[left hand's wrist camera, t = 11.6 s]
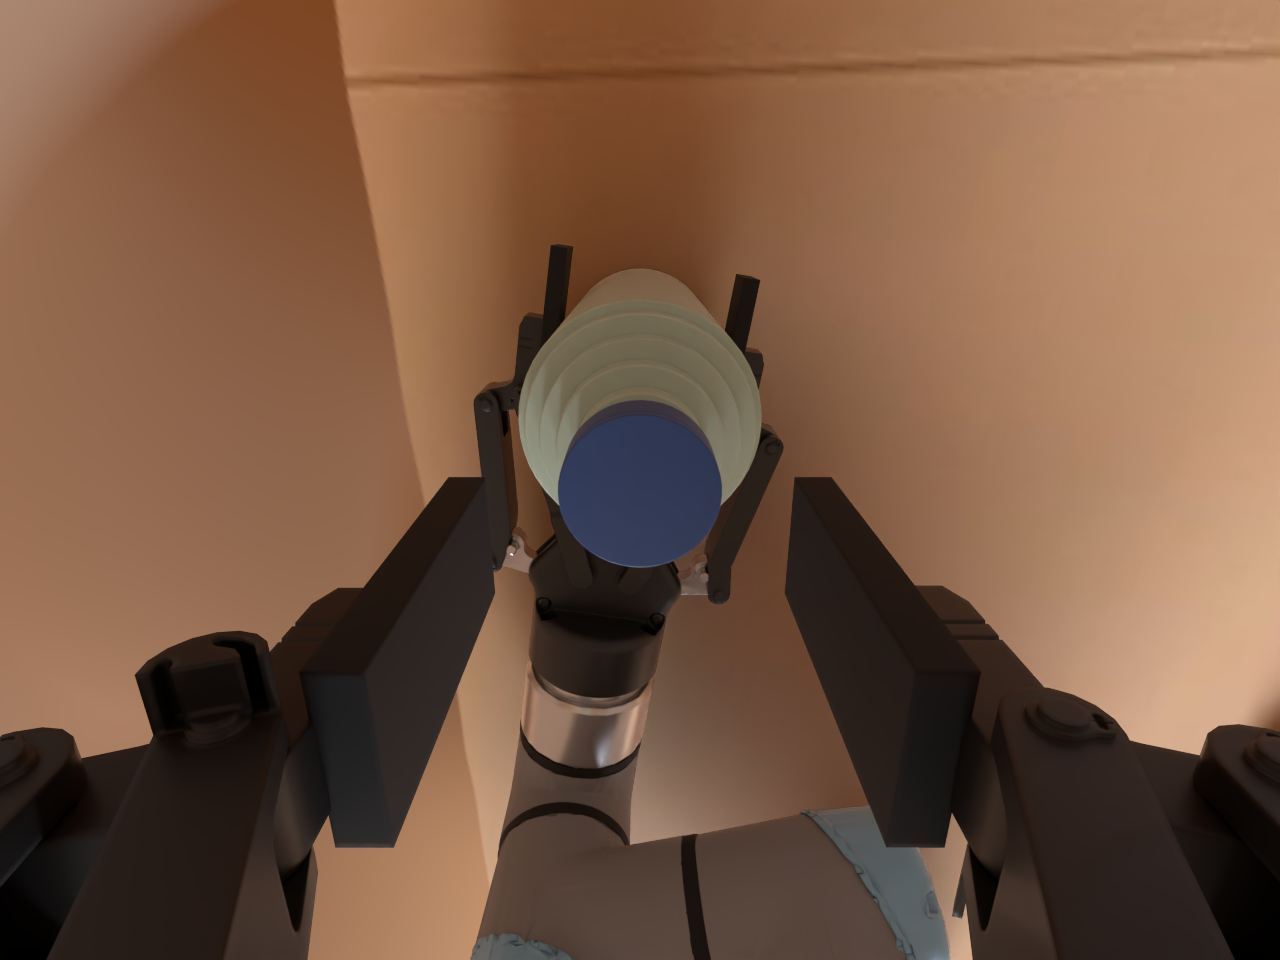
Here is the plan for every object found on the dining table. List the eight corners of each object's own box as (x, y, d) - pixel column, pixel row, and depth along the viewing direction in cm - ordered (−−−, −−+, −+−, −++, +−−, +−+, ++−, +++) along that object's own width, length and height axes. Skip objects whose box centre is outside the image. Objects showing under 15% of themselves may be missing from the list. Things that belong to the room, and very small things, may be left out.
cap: (664, 567, 19) (666, 593, 18) (536, 497, 18) (528, 520, 17) (745, 449, 18) (754, 468, 16) (612, 370, 17) (610, 382, 16)
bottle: (662, 433, 41) (689, 674, 19) (545, 364, 40) (424, 538, 18) (736, 317, 39) (868, 436, 17) (615, 239, 38) (578, 255, 15)
